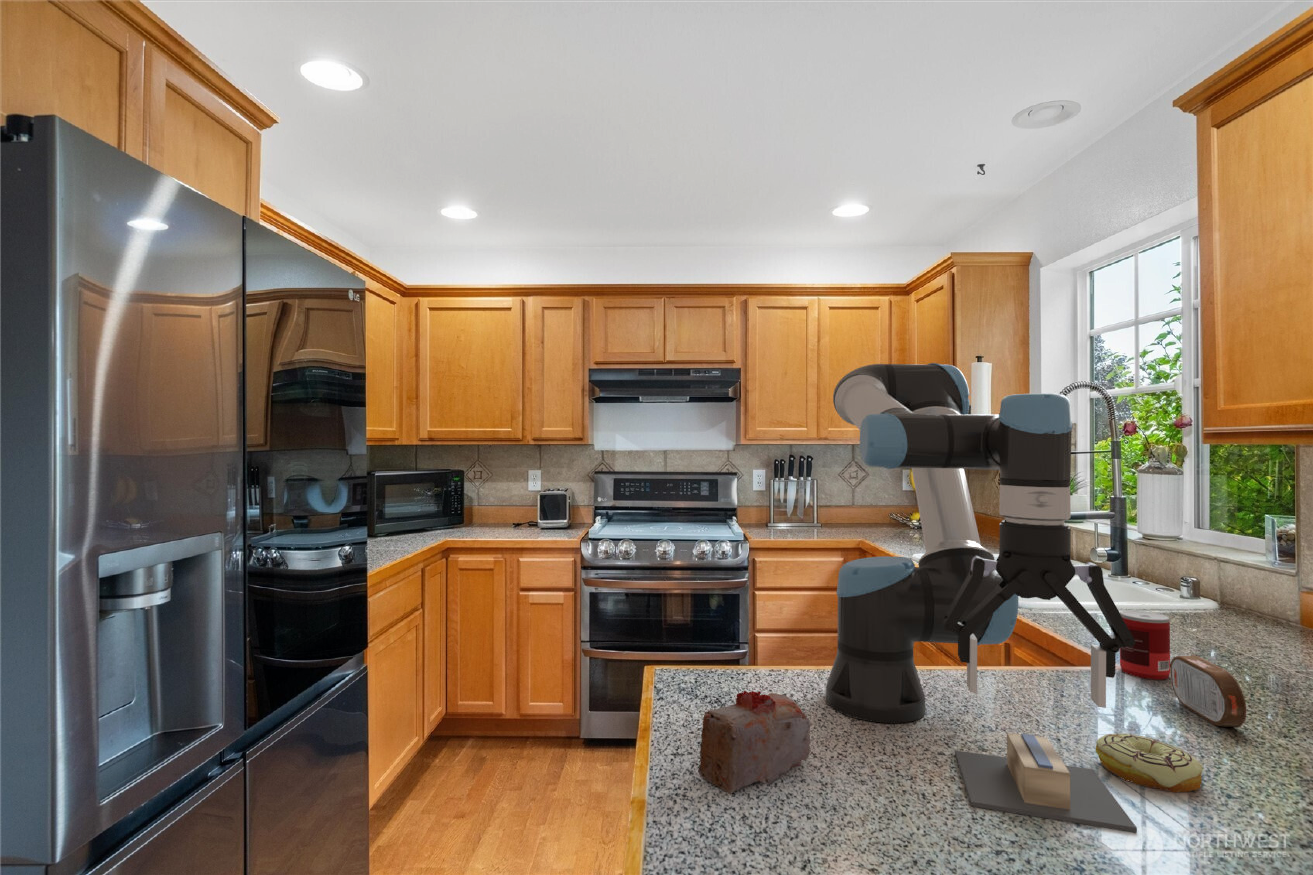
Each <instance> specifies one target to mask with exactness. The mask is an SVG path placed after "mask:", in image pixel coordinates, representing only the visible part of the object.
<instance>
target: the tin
mask: <svg viewBox="0 0 1313 875" xmlns="http://www.w3.org/2000/svg"><path fill="white" fill-rule="evenodd" d="M1170 679H1171V688H1172V690H1173V692H1174V695H1175V697H1176V698H1177V700H1178V701H1179V702H1180V704H1181V705H1182V706H1184V707H1185V708H1186V709H1188V710H1189V711H1192V712H1193V713H1195V714H1196V715H1198V716H1199V717H1201V718H1203V719H1204V720H1205V721H1206V722H1208V723H1210V724H1212V725H1214V726H1216V727H1230V728H1240V727H1241V726H1243V725H1244V724H1245V721H1246V718H1247V704H1246V699H1245V696H1244V693H1243V690H1242V688H1241V686H1240V684H1239V682H1238V681H1237V680H1236V678H1235V677H1234V676H1233V674H1232V673H1231V672H1229V671H1228V670H1226V669H1225V668H1222V667H1220V666H1218V665H1216V664H1214V663H1211V662H1210V661H1208V660H1205V659H1203V657H1200V656H1197V655H1193V654H1192V655H1177V656H1174V657H1173V658H1172V659H1171V660H1170Z"/></svg>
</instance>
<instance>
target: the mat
mask: <svg viewBox="0 0 1313 875" xmlns="http://www.w3.org/2000/svg"><path fill="white" fill-rule="evenodd" d="M954 755H955V758H956V761H957V764H958V768H959V772H960V774H961V778H962V781H963V783H964V787H965V791H966V793H967V796H968V799H969V802H970V806H971V807H973V808H980V809H987V810H994V811H998V812H999V811H1000V812H1006V813H1012V814H1017V815H1023V816H1029V817H1030V816H1031V817H1032V816H1033V817H1038V818H1044V819H1049V820H1057V821H1062V822H1068V823H1074V824H1082V825H1087V826H1094V827H1101V828H1105V829H1106V828H1107V829H1113V830H1118V831H1126V832H1131V833H1138V827H1137V826H1136V825H1135V823H1134V822H1133V820H1132V819H1131V818H1130V816H1129V815H1128V814H1127V813H1126V811H1125V810H1124V808H1123V807H1122V806H1121V804H1120V803H1119V801H1118V800H1117V799H1116V797H1115V796H1114V795H1113V794H1112V793H1111V791H1110V790H1109V789H1108V788H1107V786H1106V785H1105V783H1104V782H1103V781H1102V779H1101V778H1100V776H1099V775H1098V774H1097V773H1096V771H1095V770H1094V769H1093V768H1087V767H1081V766H1072V765H1066V764H1064V765H1065V766H1066V768H1067V769H1068V771H1069V772H1070V810H1069V809H1063V808H1056V807H1050V806H1044V805H1037V804H1031V803H1025V802H1024V800H1023V797H1022V795H1021V793H1020V791H1019V789H1018V787H1017V784H1016V782H1015V780H1014V778H1013V776H1012V774H1011V772H1010V769H1009V767H1008V765H1007V756H1000V755H999V756H998V755H991V754H984V753H978V752H971V751H963V750H962V751H961V750H954Z"/></svg>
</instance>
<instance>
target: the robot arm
mask: <svg viewBox="0 0 1313 875" xmlns="http://www.w3.org/2000/svg"><path fill="white" fill-rule="evenodd" d="M969 390H970V389H969V385H968V382H967V379H966V377H965V376H964V374H963V372H962V371H961V370H960V369H959V368H958V367H957V366H954V365H951V364H943V363H938V362H931V363H928V364H910V363H909V364H904V363H903V364H902V363H899V364H898V363H874V364H868V365H864V366H860V367H857V368H856V369H854V370H851V371H850V372H848V373H846V374H845V375H844V376H843V377H842V378H840V380H839V381H838V382H837V384H836V385H835V388H834V390H833V393H832V394H833V395H832V403H833V407H834V409H835V411H836V413H837V414H838V416H839V417H840V418H841V419H842V420H844V422H846V423H847V424H850V425H852V426H856V428H857V429H858V430H859V451H860V454H861V459H862V461H863V463H864V464H865V465H866V466H868V467H874V468H884V469H888V470H891V469H911V471H912V478H913V484H914V489H915V495H916V502H917V508H918V512H919V519H920V524H921V526H920V527H921V530H922V536H923V543H924V549H925V552H924V554H923V555H921V556H920V558H919V559H918V566H916V565H915V563H914V561H913V559H911V558H909V557H904V556H889V555H885V556H883V555H882V556H872V557H864V558H858V559H854V560H850V561H847V562H846V563H843V565H841V567H840V568H839V571H838V576H837V589H836V595H837V652H836V655H835V659H834V662H833V665H832V667H831V670H830V673H829V676H828V679H827V682H826V686H825V701H826V703H827V705H828V706H829V707H831V708H832V709H834V710H835V711H837V712H839V713H841V714H843V715H846V716H849V717H852V718H855V719H859V720H865V721H869V722H874V723H875V722H876V723H884V724H885V723H887V724H889V723H890V724H900V723H908V722H912V721H917V720H919V719H921V718H923V717H924V716H925V714H926V696H925V692H924V689H923V687H922V683H921V680H920V676H919V674H918V670H917V668H916V665H915V660H914V643H915V642H918V643H919V642H920V643H921V642H922V643H943V644H957V656H958V659H959V661H960V662H961V663H963V664H965V663H966V685H967V686H966V687H967V688H968V690H969V692H970V693H972V694H977V693H978V646H980V645H999V644H1003V643H1005V642H1006V641H1007V640H1008V639H1009V638H1010V637H1011V636H1012V634H1013V632H1014V629H1015V627H1016V624H1017V619H1018V614H1019V597H1020V598H1021V599H1034V598H1038V599H1040V600H1045V601H1047V600H1048V601H1051V600H1052V599H1054V598H1056V597H1057V598H1058V599H1059V600H1060V601H1061V602H1062V603H1063V604H1064V605H1065V606H1066V607H1067V609H1068V610H1069V611H1070V612H1071V613H1072V614H1073V616H1075V618H1076V619H1077V620H1078V621H1079V622H1080V623H1081V624H1082V626H1084V627H1085V629H1086V630H1087V631H1088V632H1089V633H1090V634H1091V635H1092V637H1093V638H1094V639H1095V640H1096V641H1097V643H1098V644H1099V645H1098V644H1090V700H1091V701H1092V702H1093V703H1094V705H1096V706H1097V707H1098V708H1103V709H1105V708H1107V678H1112V679H1114V677H1115V675H1116V668H1117V667H1116V663H1117V662H1116V659H1117V658H1116V657H1117V656H1116V655H1117V654H1116V653H1118V652H1120V648H1122V647H1126V646H1127V647H1133V646H1134V645H1135V640H1134V638H1133V636H1132V634H1131V633H1130V631H1129V629H1128V627H1127V625H1126V623H1125V622H1124V620H1123V618H1122V616H1121V614H1120V611H1119V609H1118V607H1117V606H1116V604H1115V602H1114V600H1113V598H1112V596H1111V595H1110V593H1109V591H1108V589H1107V587H1106V585H1105V582H1104V574H1103V568H1102V567H1101V566H1100V565H1097V563H1096V564H1095V563H1093V562H1090V561H1088V562H1085V563H1084V564H1073V562H1072V560H1071V554H1072V553H1071V551H1072V550H1071V547H1072V546H1071V540H1072V539H1071V538H1072V537H1071V536H1072V535H1071V534H1072V533H1071V531H1072V530H1071V527H1070V525H1069V524H1067V523H1066V522H1065V521H1068V520H1070V519H1071V518H1072V517H1071V515H1072V514H1071V479H1072V476H1071V475H1072V474H1071V472H1072V470H1071V469H1072V434H1073V433H1072V430H1073V427H1074V425H1073V421H1072V419H1071V417H1072V416H1071V402H1070V400H1069V398H1068V397H1067V396H1066V395H1063V394H1060V393H1043V392H1042V393H1041V392H1040V393H1022V394H1021V393H1019V394H1018V393H1017V394H1009V395H1006V396H1004V397H1003V398H1002V399H1001V401H1000V410H999V413H998V414H969V410H970V399H969V396H970V391H969ZM965 470H995V471H999V515H1000V516H1001V517H1003V518H1004V520H1001V522H999V536H998V537H999V538H998V540H999V544H998V546H999V550H998V551H999V552H998V556H997V559H996V560H995V555H994V554H993V553H992V552H991V551H990V550H989V549H986V548H985V547H983V546H982V545H981V544H982V542H981V539H980V535H979V531H978V525H977V521H976V517H975V512H974V507H973V505H972V499H971V494H970V490H969V485H968V481H967V477H966V472H965ZM1075 575H1077V576H1078V578H1079V580H1080V581H1082V583H1085V584H1086V585H1087V587H1088V590H1089V591H1090V593H1091V595H1092V597H1093V599H1094V600H1095V602H1096V604H1097V605H1098V608H1099V609H1100V611H1101V613H1102V615H1103V617H1104V618H1105V620H1106V622H1107V624H1108V626H1109V628H1110V630H1111V631H1112V633H1111V634H1108V632H1107V631H1106V630H1105V629H1104V628H1103V627H1102V626H1101V625H1100V624H1099V622H1098V621H1097V620H1096V619H1095V617H1093V616H1092V615H1091V614H1090V613H1089V612H1088V611H1087V609H1086V608H1085V606H1083V605H1082V604H1081V603H1080V602H1079V600H1078V599H1077V598H1076V597H1075V595H1074V594H1073V593H1072V592H1071V591H1070V590H1069V589H1068V588H1067V585H1068V584H1069V583H1070V582H1071V581H1072V580H1073V578H1075Z"/></svg>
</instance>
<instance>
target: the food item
mask: <svg viewBox="0 0 1313 875" xmlns="http://www.w3.org/2000/svg"><path fill="white" fill-rule="evenodd" d="M811 726H812V723H811V720H810V718H809V717H808V716H807V714H806V713H805V712H803V711H802V709H801V707H800V706H799V704H798V703H797V702H795V701H794V700H793V699H792V698H790V697H789V696H786V695H784V694H779V693H773V692H771V693H769V694H761V691H755V690H754V691H753V690H751V691H749V692H748V691H747V690H743V692H739V693H737V694H736V698H735V704H729V705H726V706H722V707H721V706H720V707H718V708H714V709H709V710H708V711H704V713H703V719H702V729H701V735H700V736H701V737H700V738H701V740H700V741H701V742H700V752H699V759H700V762H699V763H700V764H699V766H698V774H699V776H700V777H701V778H703V779H704V780H705V781H706V782H708V783H710V784H713V785H714V786H716V787H718V788H719V789H722V790H723V791H724V793H727V794H729V795H731V794H733V793H734V792H736V791H739V790H740V789H742V788H744V787H749V786H750V785H752V784H755V783H757V782H761V783H764V784H773V783H774V782H775V781H777V780H778V779H779V778H780V775H781V774H782V775H783V774H786V773H787V772H788V771H790V769H793V768H798V767H800V765H801V763H802V762H803V761H804V762H806V761H807V758H808V757H809V755H810V753H811V734H810V733H811Z"/></svg>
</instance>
